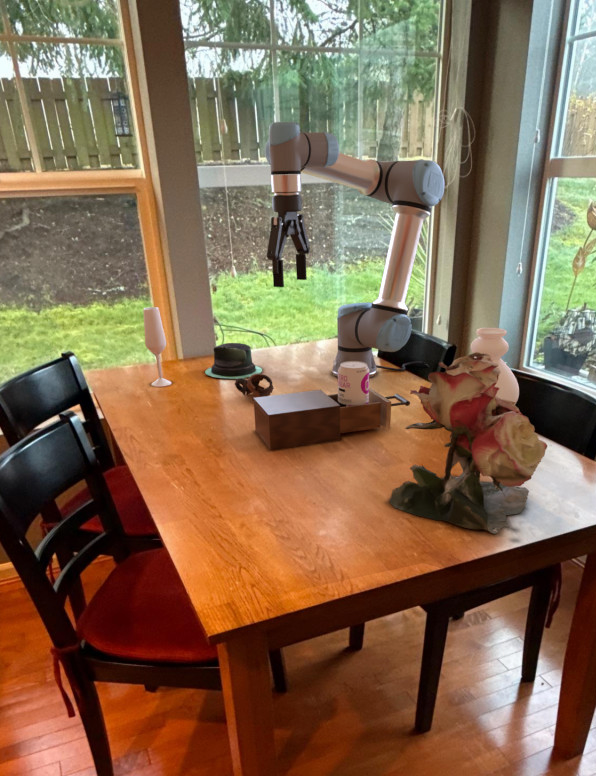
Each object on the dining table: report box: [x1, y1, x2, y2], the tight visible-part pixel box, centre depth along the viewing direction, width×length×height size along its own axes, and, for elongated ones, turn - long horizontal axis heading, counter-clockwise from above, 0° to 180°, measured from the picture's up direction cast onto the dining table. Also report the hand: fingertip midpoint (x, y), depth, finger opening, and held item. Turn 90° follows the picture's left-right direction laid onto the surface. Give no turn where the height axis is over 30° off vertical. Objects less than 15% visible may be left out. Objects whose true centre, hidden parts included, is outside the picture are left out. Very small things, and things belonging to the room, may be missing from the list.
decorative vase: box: [470, 327, 520, 405], centre depth 165 cm, size 18×18×25 cm
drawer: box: [327, 387, 411, 434], centre depth 169 cm, size 25×13×7 cm, turn 110°
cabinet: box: [252, 389, 341, 451], centre depth 164 cm, size 19×15×9 cm
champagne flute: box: [143, 306, 172, 387], centre depth 204 cm, size 7×7×24 cm
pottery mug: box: [234, 373, 275, 402], centre depth 193 cm, size 12×10×8 cm
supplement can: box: [337, 361, 370, 407], centre depth 166 cm, size 8×8×15 cm
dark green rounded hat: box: [204, 342, 263, 380], centre depth 220 cm, size 15×19×20 cm
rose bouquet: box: [388, 352, 548, 535], centre depth 125 cm, size 26×29×30 cm
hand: (290, 283), depth 170 cm, fingers open, 13 cm apart
